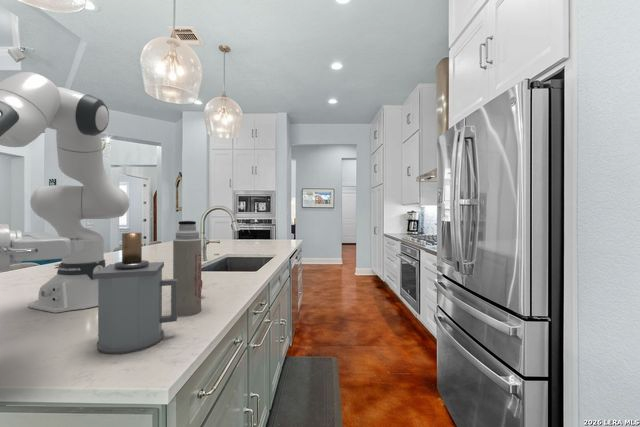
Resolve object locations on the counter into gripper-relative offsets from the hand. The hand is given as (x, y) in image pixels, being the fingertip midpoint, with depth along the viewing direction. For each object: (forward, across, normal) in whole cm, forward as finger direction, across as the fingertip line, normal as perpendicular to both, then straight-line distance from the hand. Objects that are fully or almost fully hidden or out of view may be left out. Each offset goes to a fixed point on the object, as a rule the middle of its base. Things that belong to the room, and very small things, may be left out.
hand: (87, 242), depth 68 cm
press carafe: (+10, -1, +24) cm, 26 cm away
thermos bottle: (+28, +11, +24) cm, 39 cm away
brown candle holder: (+9, 0, +17) cm, 19 cm away
